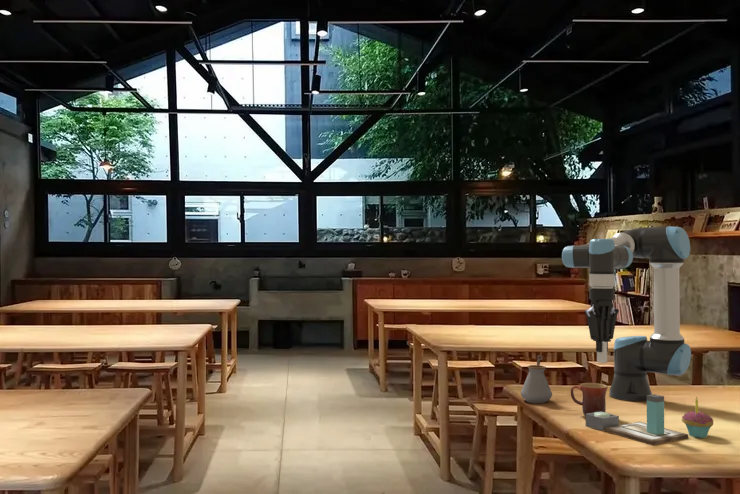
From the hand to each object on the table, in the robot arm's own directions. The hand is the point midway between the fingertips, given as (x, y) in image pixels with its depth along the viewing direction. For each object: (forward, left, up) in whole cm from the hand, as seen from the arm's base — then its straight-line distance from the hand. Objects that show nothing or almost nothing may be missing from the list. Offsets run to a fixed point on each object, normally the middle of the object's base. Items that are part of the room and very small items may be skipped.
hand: (601, 362), depth 206 cm
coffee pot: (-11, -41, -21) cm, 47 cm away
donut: (-18, +20, -21) cm, 34 cm away
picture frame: (-5, +12, -20) cm, 24 cm away
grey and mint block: (-5, +16, -19) cm, 25 cm away
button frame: (0, 0, -20) cm, 20 cm away
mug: (-8, -13, -21) cm, 26 cm away
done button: (0, 0, -20) cm, 20 cm away
